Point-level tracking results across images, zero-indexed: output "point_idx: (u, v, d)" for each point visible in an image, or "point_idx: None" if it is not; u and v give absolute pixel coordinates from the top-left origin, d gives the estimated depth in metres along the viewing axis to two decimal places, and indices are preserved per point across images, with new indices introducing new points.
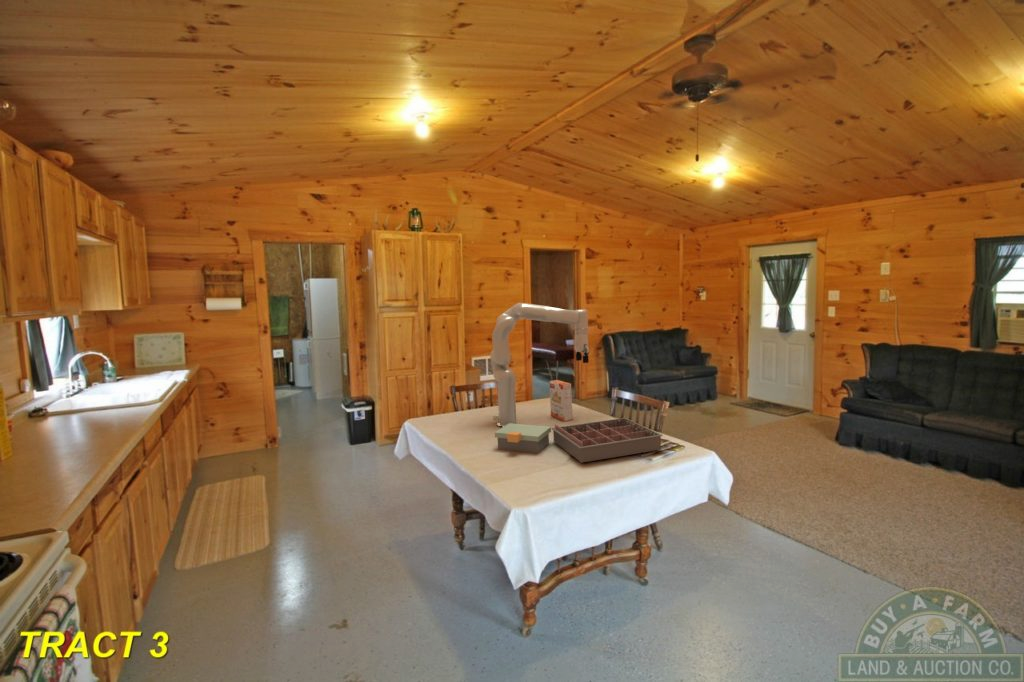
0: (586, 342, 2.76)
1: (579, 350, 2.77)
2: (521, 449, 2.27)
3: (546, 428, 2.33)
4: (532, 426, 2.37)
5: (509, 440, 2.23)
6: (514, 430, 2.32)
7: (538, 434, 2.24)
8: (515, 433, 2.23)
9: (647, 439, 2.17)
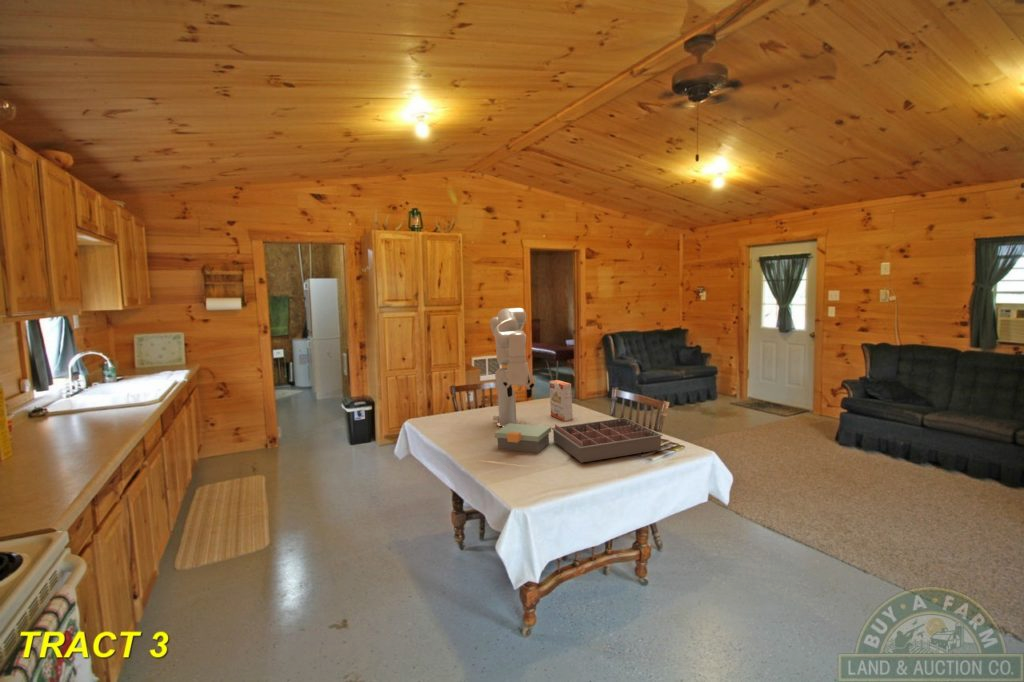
0: (529, 372, 2.24)
1: (522, 383, 2.22)
2: (521, 449, 2.27)
3: (546, 428, 2.33)
4: (532, 426, 2.37)
5: (509, 440, 2.23)
6: (514, 430, 2.32)
7: (538, 434, 2.24)
8: (515, 433, 2.23)
9: (647, 439, 2.17)
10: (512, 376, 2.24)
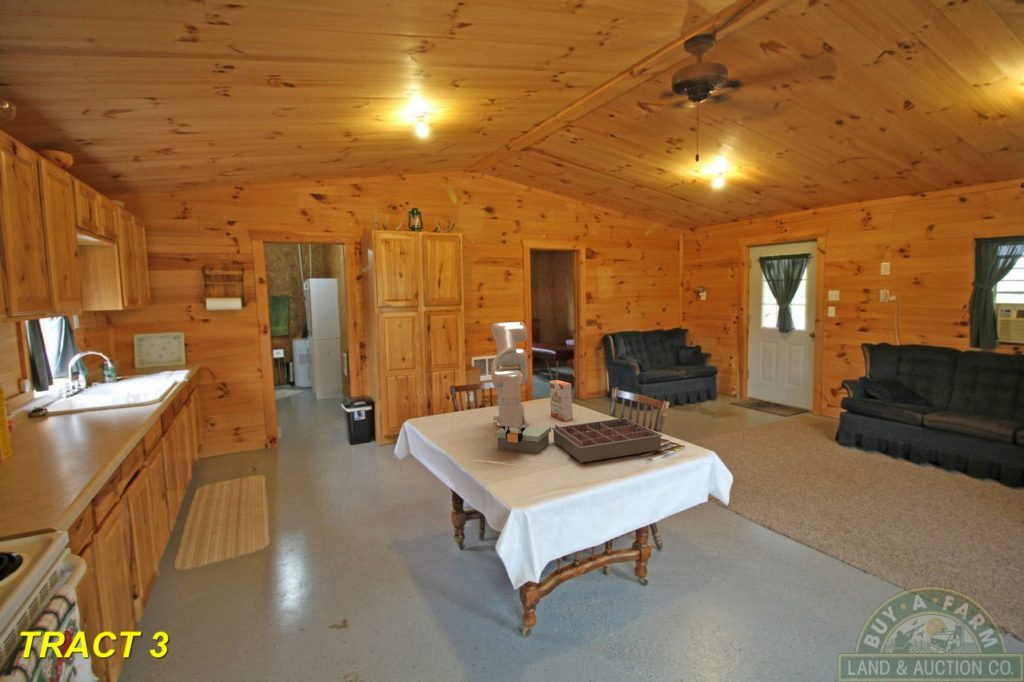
0: (523, 414, 2.21)
1: (517, 425, 2.19)
2: (521, 449, 2.27)
3: (546, 428, 2.33)
4: (532, 426, 2.37)
5: (509, 440, 2.23)
6: (514, 430, 2.32)
7: (538, 434, 2.24)
8: (515, 433, 2.23)
9: (647, 439, 2.17)
10: (507, 418, 2.21)
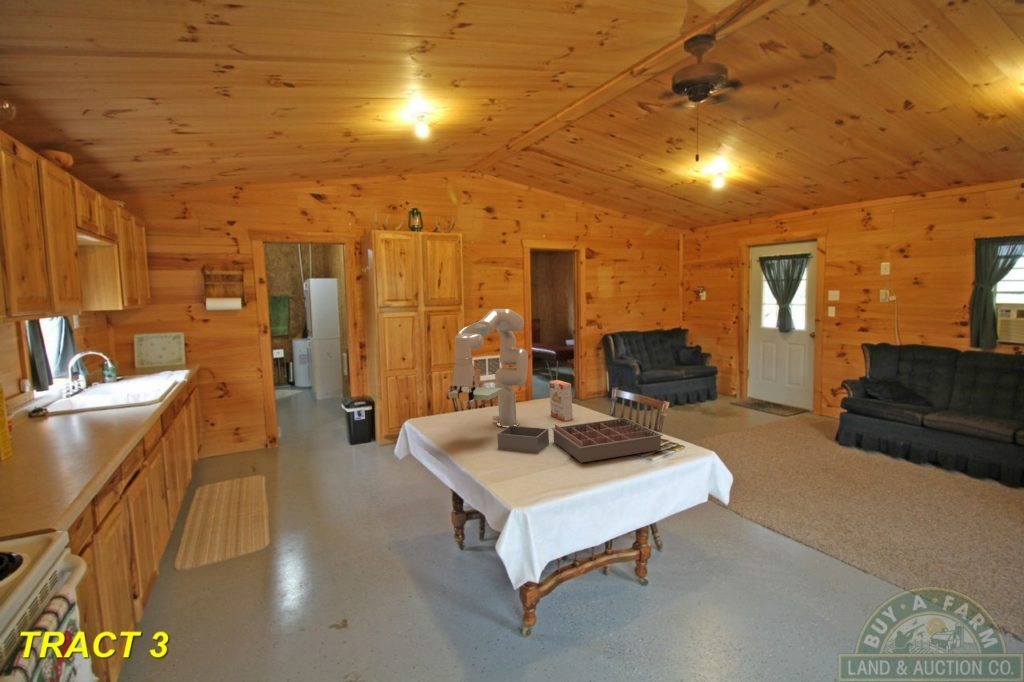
0: (474, 374, 2.33)
1: (467, 384, 2.31)
2: (521, 449, 2.27)
3: (498, 389, 2.45)
4: (485, 388, 2.49)
5: (461, 399, 2.35)
6: (467, 391, 2.44)
7: (488, 393, 2.36)
8: (466, 392, 2.35)
9: (647, 439, 2.17)
10: (458, 378, 2.33)
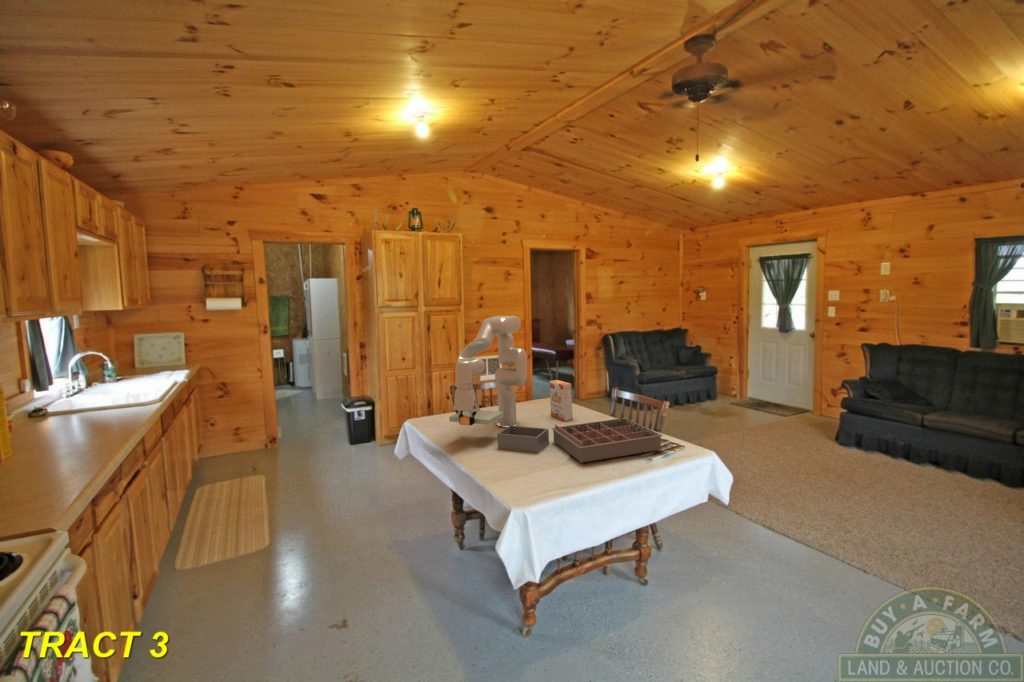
0: (475, 398, 2.35)
1: (468, 409, 2.33)
2: (521, 449, 2.27)
3: (498, 413, 2.46)
4: (486, 412, 2.50)
5: (461, 423, 2.36)
6: (468, 415, 2.45)
7: (489, 418, 2.37)
8: (467, 417, 2.36)
9: (647, 439, 2.17)
10: (459, 402, 2.34)
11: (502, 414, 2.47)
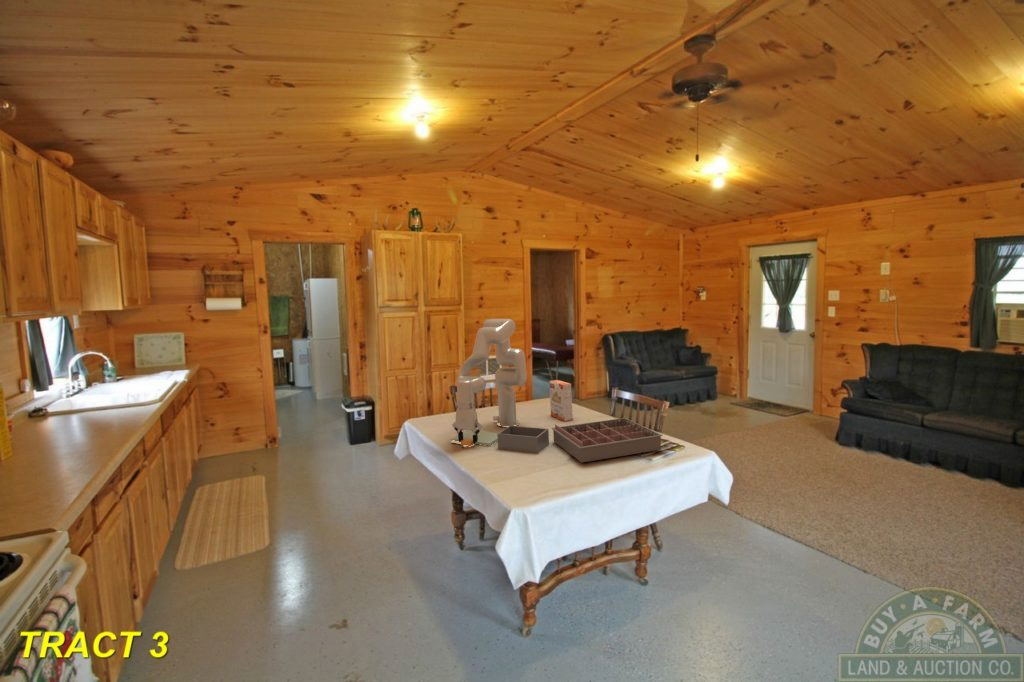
0: (476, 417, 2.36)
1: (470, 428, 2.34)
2: (521, 449, 2.27)
3: None
4: (487, 433, 2.51)
5: None
6: (469, 437, 2.46)
7: (490, 441, 2.39)
8: (469, 440, 2.38)
9: (647, 439, 2.17)
10: (460, 421, 2.35)
11: None
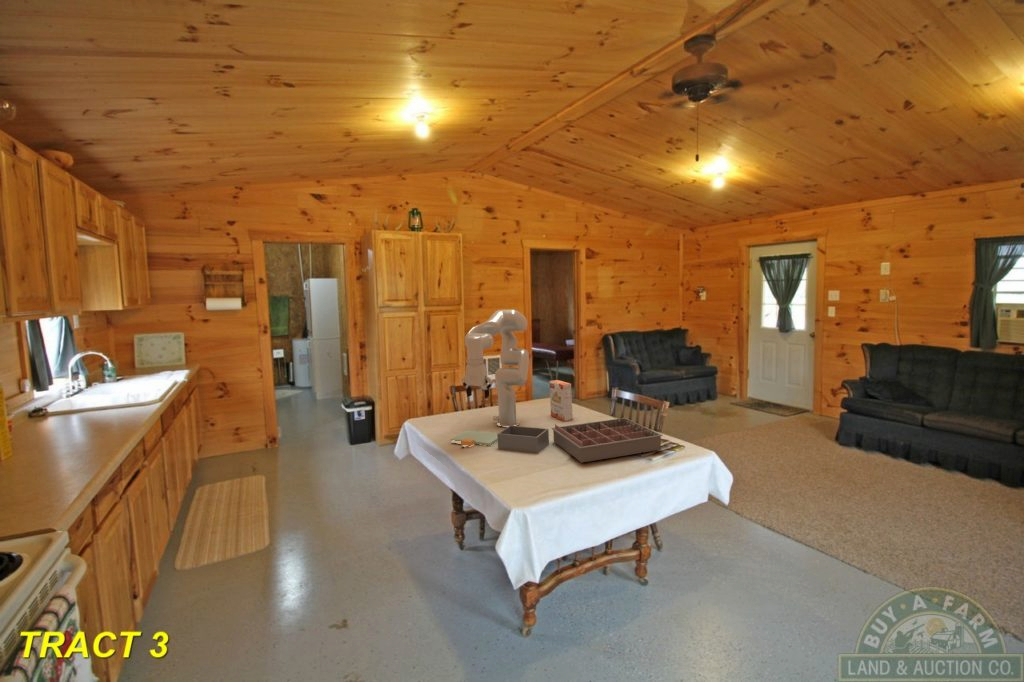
0: (486, 373, 2.36)
1: (480, 384, 2.35)
2: (521, 449, 2.27)
3: None
4: (487, 433, 2.51)
5: None
6: (469, 437, 2.46)
7: (490, 441, 2.39)
8: (469, 440, 2.38)
9: (647, 439, 2.17)
10: (470, 377, 2.36)
11: None
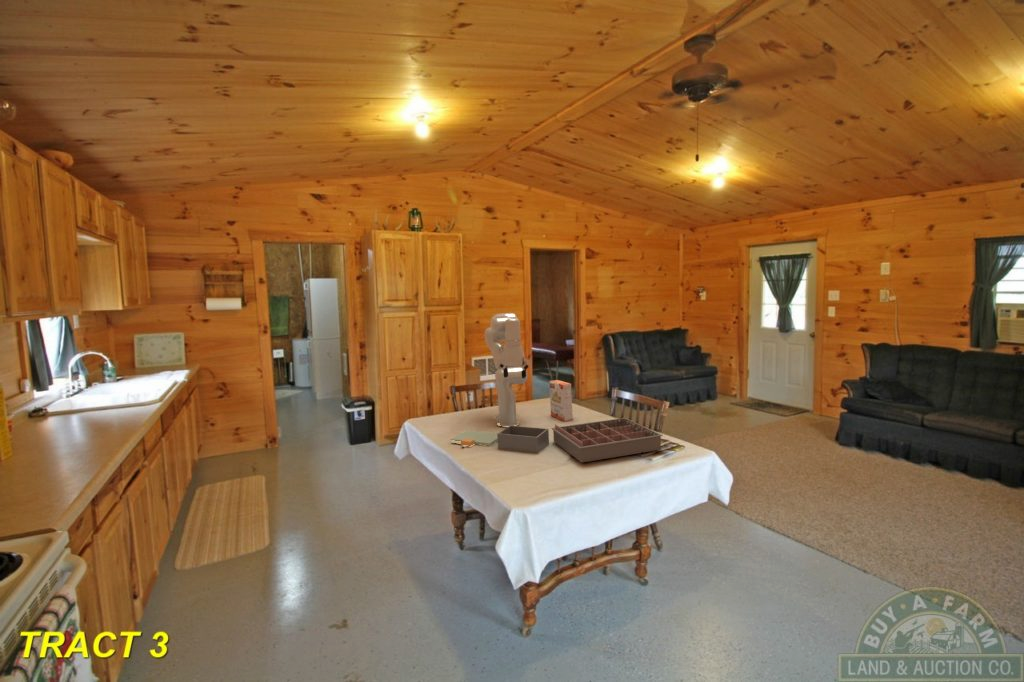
0: (523, 354, 2.45)
1: (517, 364, 2.44)
2: (521, 449, 2.27)
3: None
4: (487, 433, 2.51)
5: None
6: (469, 437, 2.46)
7: (490, 441, 2.39)
8: (469, 440, 2.38)
9: (647, 439, 2.17)
10: (508, 358, 2.45)
11: None
